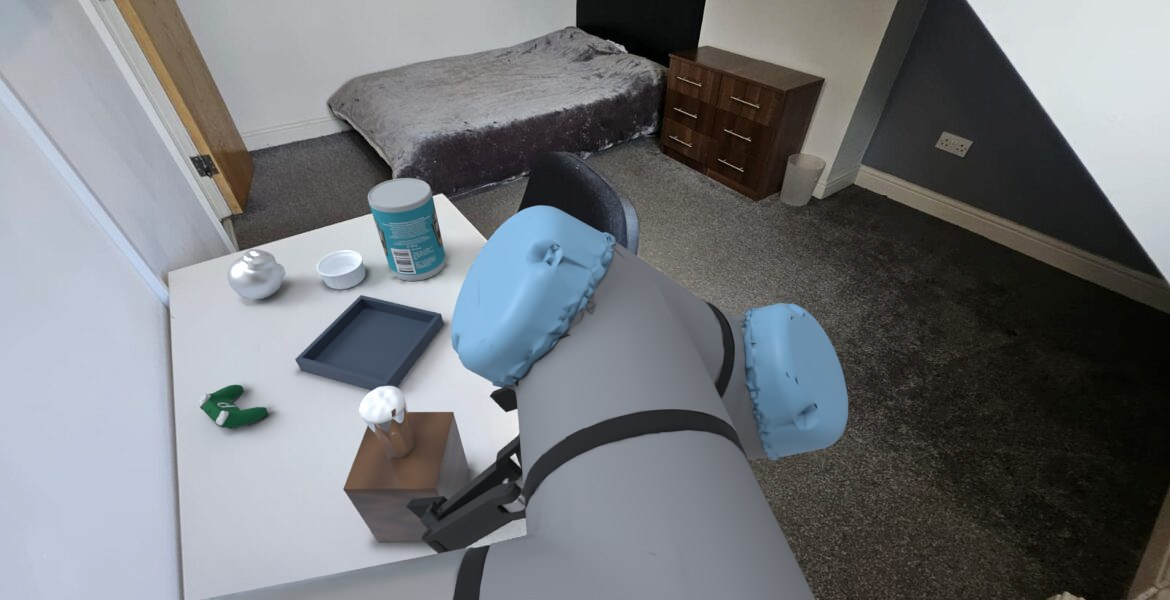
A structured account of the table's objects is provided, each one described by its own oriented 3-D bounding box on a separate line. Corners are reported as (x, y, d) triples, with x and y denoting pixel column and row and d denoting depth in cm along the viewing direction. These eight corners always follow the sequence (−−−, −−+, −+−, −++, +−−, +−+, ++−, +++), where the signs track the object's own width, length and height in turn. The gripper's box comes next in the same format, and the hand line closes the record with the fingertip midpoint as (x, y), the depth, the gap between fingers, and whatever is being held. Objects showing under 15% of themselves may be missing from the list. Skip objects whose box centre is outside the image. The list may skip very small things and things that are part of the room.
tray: (301, 370, 81) (294, 359, 79) (365, 305, 94) (360, 294, 92) (390, 395, 77) (385, 384, 75) (444, 324, 90) (441, 313, 88)
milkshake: (397, 475, 52) (372, 423, 45) (372, 446, 55) (345, 393, 48) (432, 449, 55) (413, 396, 48) (407, 422, 57) (386, 368, 51)
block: (377, 542, 60) (342, 489, 51) (399, 469, 68) (372, 411, 58) (456, 541, 60) (435, 488, 51) (469, 469, 68) (453, 411, 59)
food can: (457, 258, 106) (443, 186, 94) (420, 288, 98) (400, 213, 86) (417, 244, 110) (398, 172, 98) (378, 271, 102) (353, 197, 90)
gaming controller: (232, 403, 78) (190, 405, 72) (241, 382, 78) (200, 383, 72) (262, 431, 74) (220, 436, 68) (271, 409, 74) (230, 412, 68)
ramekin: (370, 285, 99) (364, 268, 96) (324, 296, 95) (317, 279, 93) (365, 262, 104) (359, 245, 102) (322, 272, 101) (314, 255, 99)
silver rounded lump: (288, 303, 94) (267, 263, 87) (235, 311, 92) (209, 271, 85) (296, 276, 100) (276, 237, 94) (246, 283, 98) (223, 243, 92)
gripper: (562, 639, 26) (407, 599, 40) (684, 341, 43) (545, 388, 57) (466, 558, 24) (340, 546, 38) (634, 280, 41) (504, 344, 55)
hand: (463, 451), depth 48 cm, fingers open, 13 cm apart
